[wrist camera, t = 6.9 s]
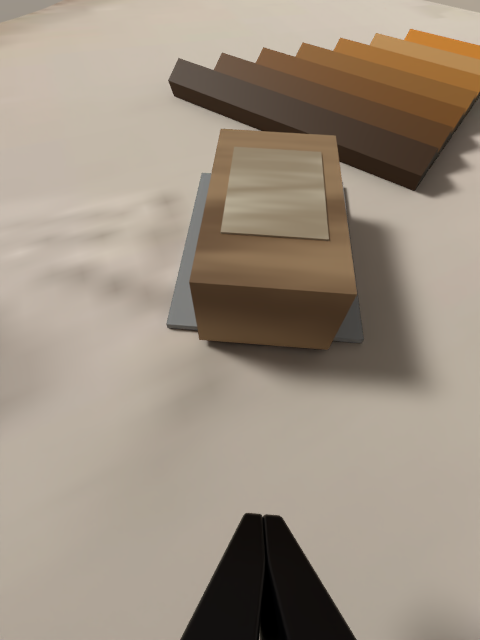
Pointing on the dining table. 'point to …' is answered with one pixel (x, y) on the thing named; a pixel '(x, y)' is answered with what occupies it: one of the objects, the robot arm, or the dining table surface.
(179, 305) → the felt mat
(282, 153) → the walnut block
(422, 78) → the pan flute
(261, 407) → the dining table surface
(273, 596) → the robot arm
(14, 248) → the dining table surface
